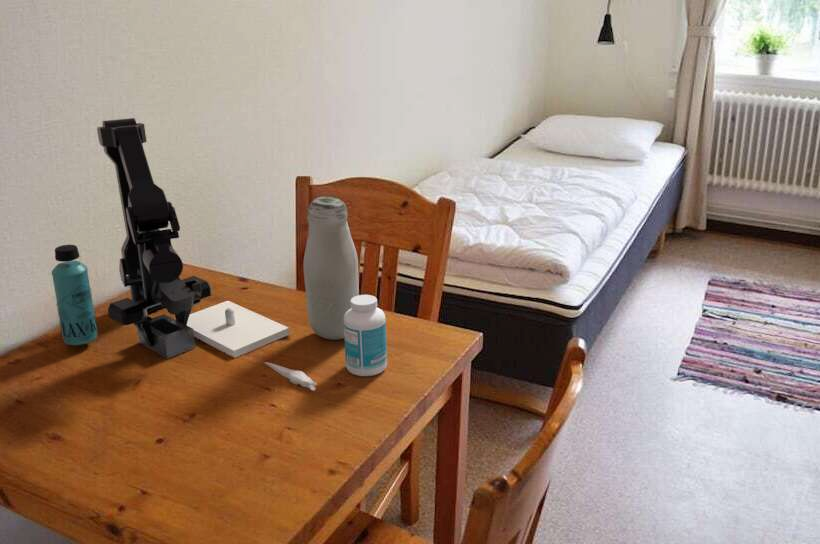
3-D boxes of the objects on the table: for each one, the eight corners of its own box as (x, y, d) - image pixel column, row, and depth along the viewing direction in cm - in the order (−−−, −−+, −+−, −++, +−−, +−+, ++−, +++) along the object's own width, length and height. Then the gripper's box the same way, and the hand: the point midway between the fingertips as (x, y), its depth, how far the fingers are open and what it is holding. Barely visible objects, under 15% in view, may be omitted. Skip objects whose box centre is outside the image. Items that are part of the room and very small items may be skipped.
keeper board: (175, 326, 163) (172, 304, 161) (228, 306, 171) (226, 285, 170) (234, 357, 150) (232, 334, 148) (289, 334, 159) (287, 311, 157)
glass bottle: (364, 326, 162) (360, 191, 152) (352, 349, 153) (347, 207, 142) (317, 323, 164) (309, 189, 153) (302, 345, 154) (293, 205, 144)
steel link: (139, 342, 156) (136, 323, 155) (166, 332, 160) (164, 314, 159) (167, 358, 150) (165, 339, 148) (195, 347, 154) (193, 328, 152)
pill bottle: (389, 359, 149) (388, 291, 144) (384, 379, 142) (382, 309, 137) (349, 357, 150) (346, 290, 145) (342, 377, 143) (339, 307, 138)
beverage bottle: (56, 349, 154) (37, 250, 146) (81, 334, 160) (64, 239, 152) (83, 355, 152) (65, 255, 144) (107, 340, 157) (92, 243, 150)
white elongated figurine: (323, 388, 139) (322, 379, 139) (310, 394, 138) (309, 384, 137) (271, 364, 149) (269, 355, 149) (259, 369, 148) (258, 360, 147)
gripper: (133, 290, 137) (145, 371, 143) (224, 261, 150) (232, 336, 156) (100, 274, 144) (113, 352, 150) (190, 247, 157) (199, 320, 163)
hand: (166, 340), depth 155 cm, fingers open, 6 cm apart
